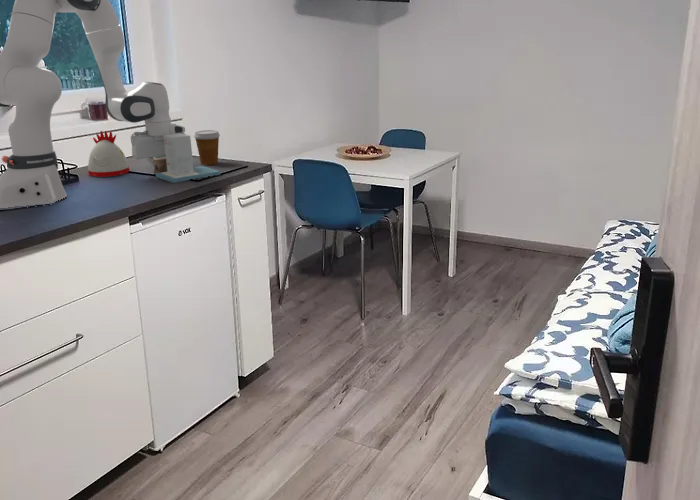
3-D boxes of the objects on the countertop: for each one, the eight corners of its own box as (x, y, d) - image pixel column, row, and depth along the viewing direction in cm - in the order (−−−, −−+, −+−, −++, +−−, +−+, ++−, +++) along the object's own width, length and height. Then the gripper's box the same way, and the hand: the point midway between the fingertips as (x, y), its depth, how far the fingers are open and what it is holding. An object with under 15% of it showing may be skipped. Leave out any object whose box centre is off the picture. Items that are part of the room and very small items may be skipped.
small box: (194, 173, 219) (190, 135, 215) (177, 176, 215) (173, 137, 211) (183, 169, 225) (179, 132, 221) (167, 172, 221) (162, 135, 217)
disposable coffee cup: (195, 166, 237) (192, 134, 233) (197, 161, 246) (194, 130, 242) (221, 165, 238) (218, 133, 234) (222, 160, 247) (220, 129, 243)
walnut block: (160, 174, 224) (158, 160, 223) (154, 172, 228) (152, 158, 226) (173, 172, 227) (171, 158, 226) (167, 170, 231) (165, 157, 229)
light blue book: (172, 182, 212) (172, 178, 211) (156, 176, 221) (155, 172, 221) (220, 174, 223) (220, 170, 222) (202, 169, 232) (202, 165, 232)
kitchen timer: (121, 176, 223) (115, 133, 218) (82, 177, 223) (75, 134, 218) (134, 168, 236) (129, 127, 231) (97, 168, 236) (91, 128, 232)
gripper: (133, 133, 214) (138, 174, 218) (189, 127, 226) (192, 165, 231) (126, 131, 218) (131, 171, 223) (181, 125, 231) (184, 162, 235)
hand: (163, 168), depth 227 cm, fingers closed on walnut block, 5 cm apart
